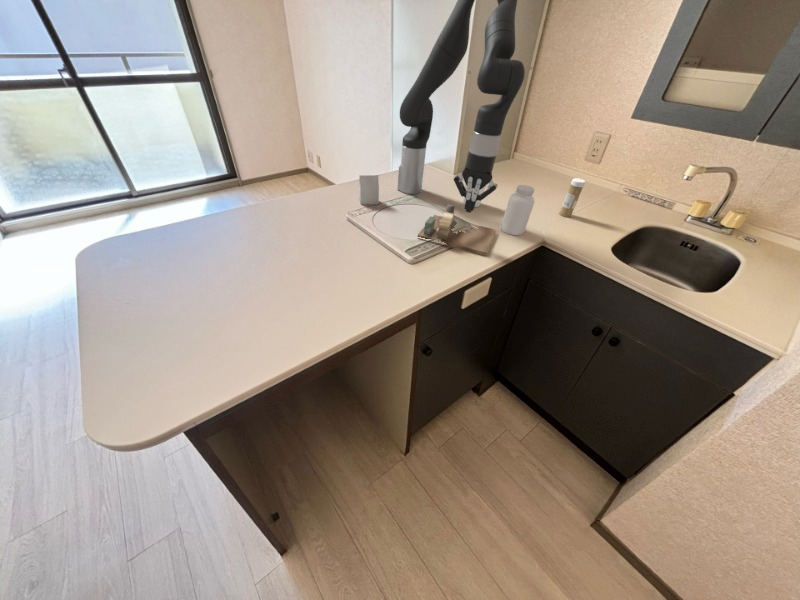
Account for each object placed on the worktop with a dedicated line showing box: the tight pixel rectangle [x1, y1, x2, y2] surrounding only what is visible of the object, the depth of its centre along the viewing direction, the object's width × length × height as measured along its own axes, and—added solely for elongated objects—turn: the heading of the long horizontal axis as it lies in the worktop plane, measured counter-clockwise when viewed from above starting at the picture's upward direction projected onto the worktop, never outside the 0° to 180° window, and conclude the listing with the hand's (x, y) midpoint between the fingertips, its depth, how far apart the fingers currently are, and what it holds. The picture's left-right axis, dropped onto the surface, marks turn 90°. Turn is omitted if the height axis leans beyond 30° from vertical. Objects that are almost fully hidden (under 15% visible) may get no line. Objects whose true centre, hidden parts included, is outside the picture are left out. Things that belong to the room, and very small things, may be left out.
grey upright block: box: [358, 174, 380, 205], centre depth 119 cm, size 4×7×10 cm, turn 103°
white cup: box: [462, 182, 487, 208], centre depth 125 cm, size 8×8×10 cm
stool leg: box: [437, 204, 455, 240], centre depth 104 cm, size 15×3×5 cm, turn 165°
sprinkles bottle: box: [558, 177, 586, 218], centre depth 122 cm, size 5×5×14 cm
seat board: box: [417, 214, 497, 257], centre depth 105 cm, size 22×17×5 cm
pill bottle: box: [500, 184, 535, 236], centre depth 107 cm, size 8×8×15 cm
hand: (468, 211), depth 98 cm, fingers closed
